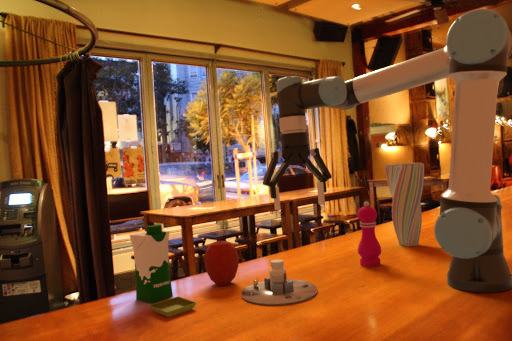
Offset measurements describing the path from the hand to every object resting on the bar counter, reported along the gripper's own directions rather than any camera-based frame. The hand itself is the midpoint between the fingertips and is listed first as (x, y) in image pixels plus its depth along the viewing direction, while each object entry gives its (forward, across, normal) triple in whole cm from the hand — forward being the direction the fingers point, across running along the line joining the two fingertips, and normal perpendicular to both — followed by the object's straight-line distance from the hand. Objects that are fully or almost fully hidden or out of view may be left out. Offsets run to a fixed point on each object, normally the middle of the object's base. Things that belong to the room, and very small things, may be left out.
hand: (300, 207), depth 128 cm
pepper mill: (+22, -25, -7) cm, 34 cm away
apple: (+21, +22, -11) cm, 32 cm away
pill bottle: (+21, +10, +6) cm, 24 cm away
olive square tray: (+22, +38, +5) cm, 44 cm away
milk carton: (+21, +42, -8) cm, 47 cm away
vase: (+22, -52, -24) cm, 61 cm away
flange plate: (+21, +10, +6) cm, 24 cm away
